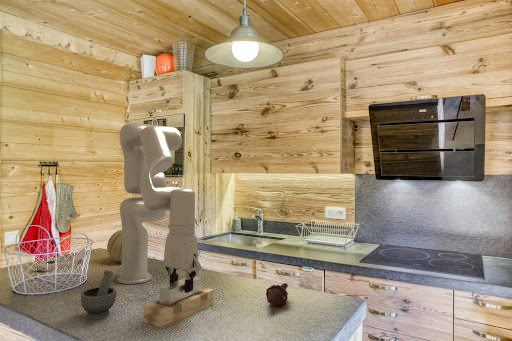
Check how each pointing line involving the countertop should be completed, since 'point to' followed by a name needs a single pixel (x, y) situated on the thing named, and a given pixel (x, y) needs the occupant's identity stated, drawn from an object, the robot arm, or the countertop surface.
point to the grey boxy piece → (177, 291)
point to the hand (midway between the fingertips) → (181, 289)
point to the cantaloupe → (115, 246)
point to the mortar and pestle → (99, 298)
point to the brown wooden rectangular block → (177, 309)
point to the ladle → (60, 262)
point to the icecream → (277, 295)
